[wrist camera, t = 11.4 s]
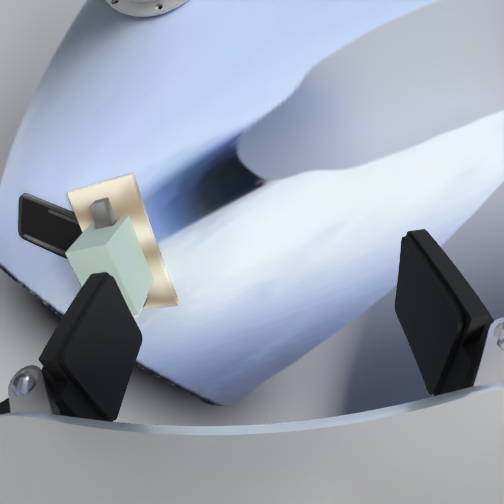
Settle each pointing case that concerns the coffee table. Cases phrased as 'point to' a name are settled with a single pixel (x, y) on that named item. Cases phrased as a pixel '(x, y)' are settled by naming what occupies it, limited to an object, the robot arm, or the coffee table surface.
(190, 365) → the coffee table surface
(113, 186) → the board
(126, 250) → the mint green box
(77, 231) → the phone
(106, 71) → the coffee table surface
